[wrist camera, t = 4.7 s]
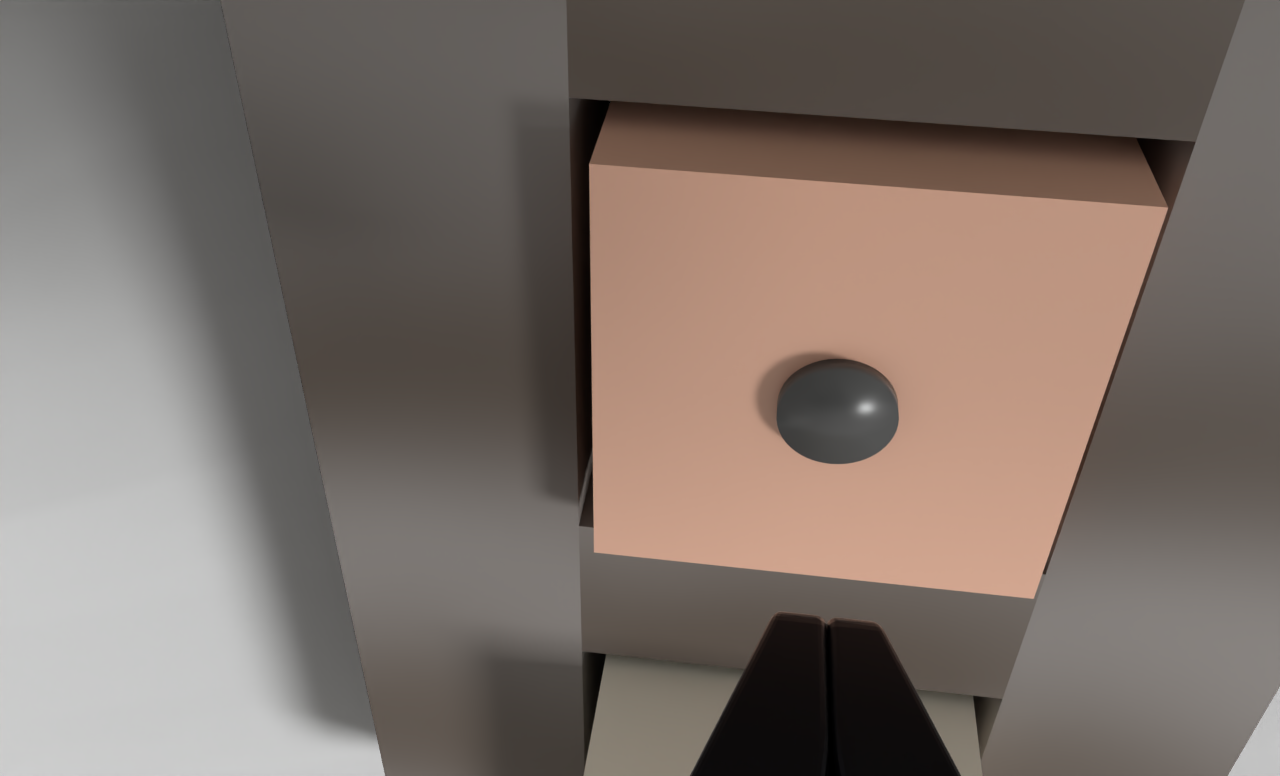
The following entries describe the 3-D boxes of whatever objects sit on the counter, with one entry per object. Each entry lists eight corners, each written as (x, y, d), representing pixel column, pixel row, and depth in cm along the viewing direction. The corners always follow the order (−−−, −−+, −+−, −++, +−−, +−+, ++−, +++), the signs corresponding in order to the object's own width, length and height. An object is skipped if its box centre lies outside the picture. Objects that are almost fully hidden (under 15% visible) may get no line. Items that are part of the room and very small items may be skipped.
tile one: (635, 29, 13) (586, 173, 10) (1099, 59, 12) (1173, 219, 10) (630, 383, 16) (591, 564, 13) (1000, 417, 15) (1036, 613, 13)
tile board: (95, -1504, 7) (-181, -1874, 5) (2263, -1632, 6) (2939, -2150, 4) (444, 755, 22) (407, 879, 20) (1085, 834, 21) (1111, 972, 19)
